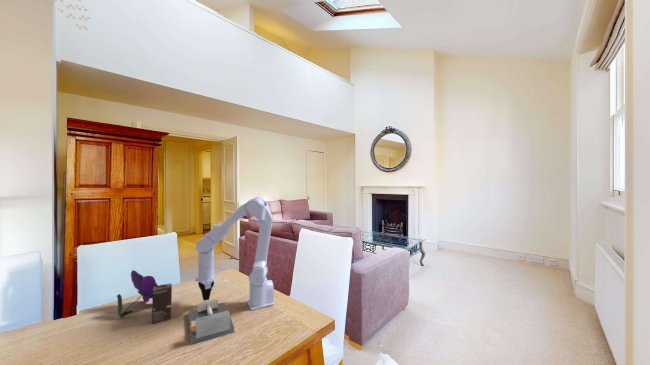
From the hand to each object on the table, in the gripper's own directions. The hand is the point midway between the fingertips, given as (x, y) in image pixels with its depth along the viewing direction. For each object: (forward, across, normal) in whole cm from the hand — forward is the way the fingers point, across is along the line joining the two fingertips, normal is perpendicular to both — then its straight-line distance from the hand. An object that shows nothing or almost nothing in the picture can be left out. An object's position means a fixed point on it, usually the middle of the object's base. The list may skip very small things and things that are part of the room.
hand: (206, 299), depth 103 cm
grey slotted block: (0, +11, 0) cm, 11 cm away
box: (+3, +3, -15) cm, 16 cm away
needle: (0, +19, -3) cm, 19 cm away
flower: (+3, -9, -23) cm, 25 cm away
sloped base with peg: (+2, +14, 0) cm, 14 cm away
